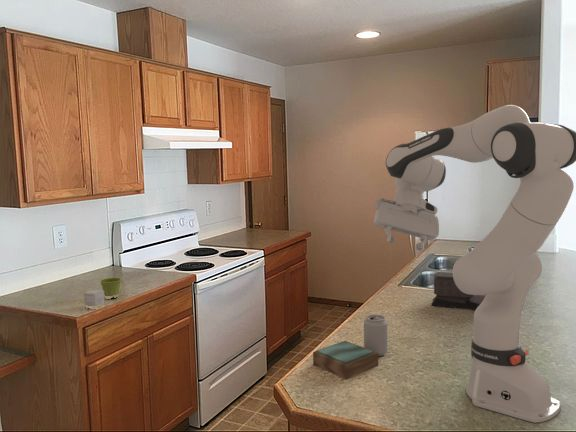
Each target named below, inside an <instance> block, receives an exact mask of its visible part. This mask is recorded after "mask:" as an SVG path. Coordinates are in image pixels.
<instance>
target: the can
mask: <svg viewBox="0 0 576 432" xmlns="http://www.w3.org/2000/svg"><path fill="white" fill-rule="evenodd" d="M363 347H364V348H366V349H369V350H372V351H375V352H377V353H378V357H382V356H385V354H387V353H388V321H387V320H386V316H384V315H380V314H369V315H367V316H366V317H365V320H364V321H363Z"/></svg>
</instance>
